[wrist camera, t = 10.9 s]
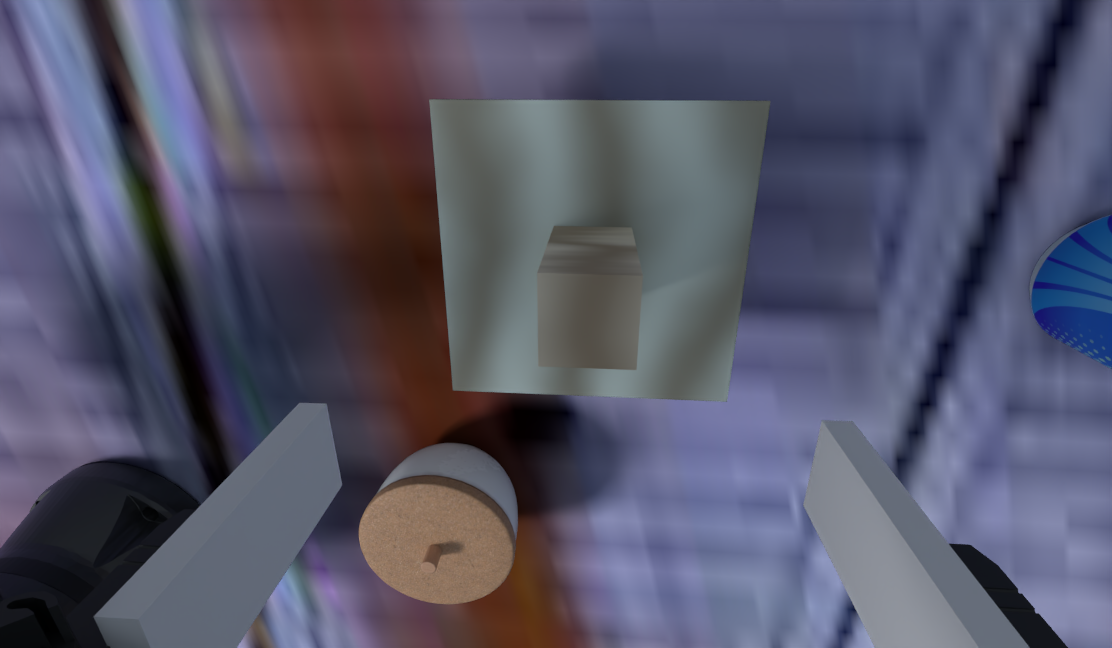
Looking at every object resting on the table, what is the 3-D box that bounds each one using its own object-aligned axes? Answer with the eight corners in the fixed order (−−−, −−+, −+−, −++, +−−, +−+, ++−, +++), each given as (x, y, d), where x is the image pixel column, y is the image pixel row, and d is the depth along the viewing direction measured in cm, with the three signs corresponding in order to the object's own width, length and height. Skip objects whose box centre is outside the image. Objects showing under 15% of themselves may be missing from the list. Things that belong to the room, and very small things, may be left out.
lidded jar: (404, 404, 42) (352, 485, 33) (540, 435, 42) (524, 524, 33) (390, 510, 46) (342, 606, 37) (514, 538, 46) (495, 640, 38)
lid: (457, 380, 34) (409, 477, 25) (436, 99, 27) (362, 102, 19) (722, 391, 32) (765, 496, 24) (763, 100, 26) (840, 104, 18)
